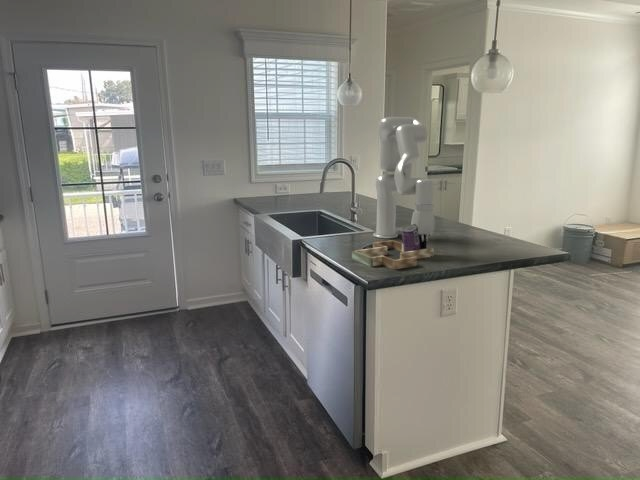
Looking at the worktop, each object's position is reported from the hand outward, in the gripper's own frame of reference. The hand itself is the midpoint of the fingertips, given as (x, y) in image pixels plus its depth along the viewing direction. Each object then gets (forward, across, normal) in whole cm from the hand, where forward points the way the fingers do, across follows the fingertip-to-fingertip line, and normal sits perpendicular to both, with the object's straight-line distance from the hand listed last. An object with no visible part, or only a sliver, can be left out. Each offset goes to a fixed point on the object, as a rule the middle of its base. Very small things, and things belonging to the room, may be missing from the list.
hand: (422, 249), depth 209 cm
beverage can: (+1, +4, -1) cm, 5 cm away
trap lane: (+2, +14, -2) cm, 15 cm away
